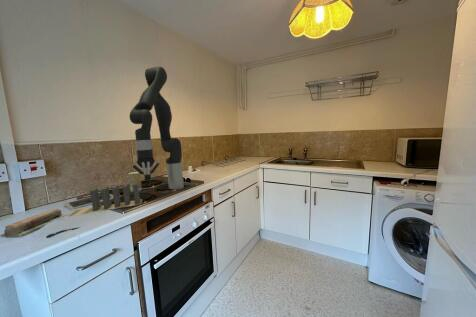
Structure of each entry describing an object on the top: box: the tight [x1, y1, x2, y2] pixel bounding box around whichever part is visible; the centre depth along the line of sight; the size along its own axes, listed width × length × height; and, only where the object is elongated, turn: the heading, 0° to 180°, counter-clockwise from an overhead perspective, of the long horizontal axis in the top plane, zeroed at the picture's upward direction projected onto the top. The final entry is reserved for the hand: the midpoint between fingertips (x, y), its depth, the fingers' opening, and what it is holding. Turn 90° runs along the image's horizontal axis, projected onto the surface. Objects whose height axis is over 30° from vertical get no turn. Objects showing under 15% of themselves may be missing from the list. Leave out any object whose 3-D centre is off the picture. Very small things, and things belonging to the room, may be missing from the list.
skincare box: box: [127, 171, 143, 193], centre depth 126 cm, size 6×4×12 cm
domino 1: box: [89, 187, 102, 211], centre depth 94 cm, size 2×5×10 cm, turn 22°
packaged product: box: [0, 208, 70, 238], centre depth 81 cm, size 18×5×10 cm
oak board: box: [67, 198, 143, 217], centre depth 96 cm, size 30×8×1 cm, turn 112°
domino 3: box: [111, 184, 122, 207], centre depth 97 cm, size 2×5×10 cm, turn 22°
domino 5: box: [133, 183, 141, 205], centre depth 100 cm, size 2×5×10 cm, turn 22°
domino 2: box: [100, 186, 112, 209], centre depth 95 cm, size 2×5×10 cm, turn 21°
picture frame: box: [63, 192, 114, 211], centre depth 108 cm, size 16×3×21 cm
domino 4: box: [122, 183, 132, 207], centre depth 99 cm, size 2×5×10 cm, turn 22°
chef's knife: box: [46, 226, 80, 239], centre depth 78 cm, size 19×1×3 cm
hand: (148, 181), depth 102 cm, fingers closed
